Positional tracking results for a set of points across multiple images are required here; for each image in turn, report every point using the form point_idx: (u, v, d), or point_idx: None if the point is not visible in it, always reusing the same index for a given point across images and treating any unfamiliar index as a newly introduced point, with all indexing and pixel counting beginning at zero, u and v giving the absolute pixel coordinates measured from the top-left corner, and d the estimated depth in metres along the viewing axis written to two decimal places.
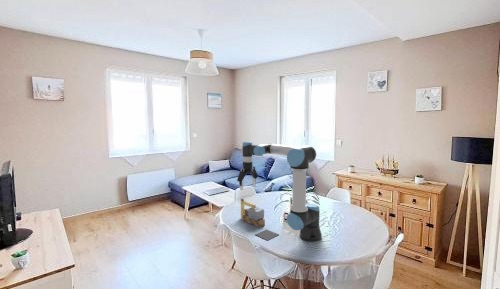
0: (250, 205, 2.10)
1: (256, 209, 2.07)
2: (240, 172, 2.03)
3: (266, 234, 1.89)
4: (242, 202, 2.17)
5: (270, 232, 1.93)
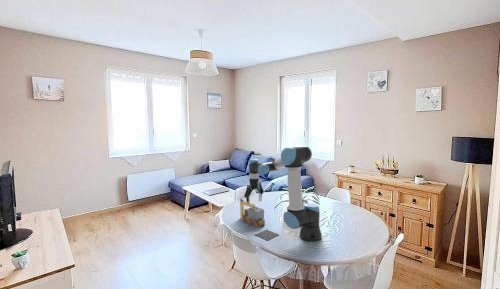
0: (249, 205, 2.10)
1: (256, 209, 2.07)
2: (247, 188, 2.12)
3: (266, 234, 1.89)
4: (241, 202, 2.16)
5: (270, 232, 1.93)
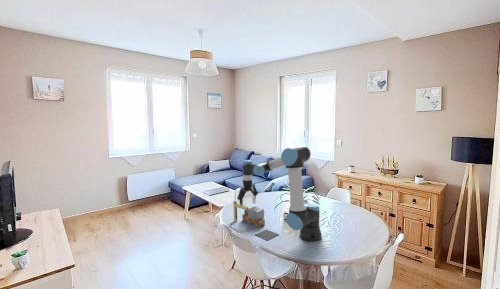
0: (243, 208, 2.05)
1: (256, 209, 2.07)
2: (240, 190, 2.07)
3: (266, 234, 1.89)
4: (235, 204, 2.11)
5: (270, 232, 1.93)
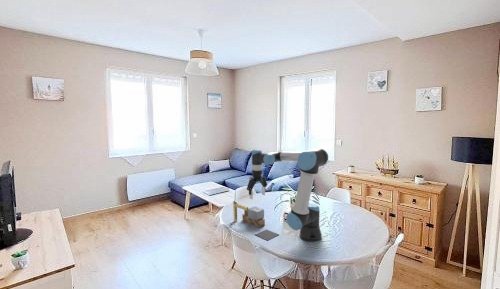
0: (243, 208, 2.05)
1: (256, 209, 2.07)
2: (250, 181, 1.98)
3: (266, 234, 1.89)
4: (235, 204, 2.11)
5: (270, 232, 1.93)
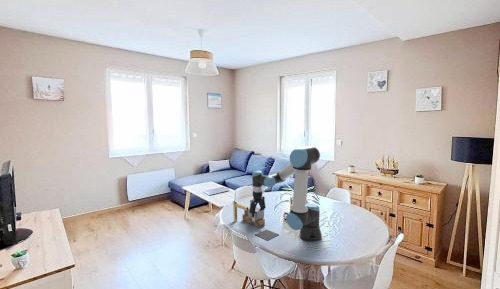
0: (243, 208, 2.05)
1: (256, 209, 2.06)
2: (251, 204, 2.01)
3: (266, 234, 1.89)
4: (235, 204, 2.11)
5: (270, 232, 1.93)
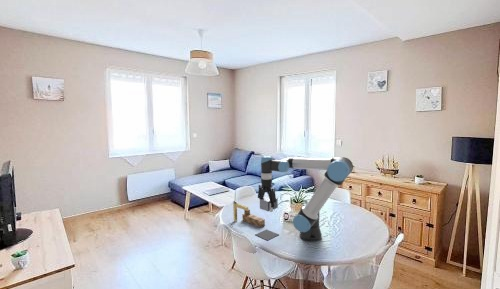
0: (243, 208, 2.05)
1: (267, 198, 1.87)
2: None
3: (266, 234, 1.89)
4: (235, 204, 2.11)
5: (270, 232, 1.93)
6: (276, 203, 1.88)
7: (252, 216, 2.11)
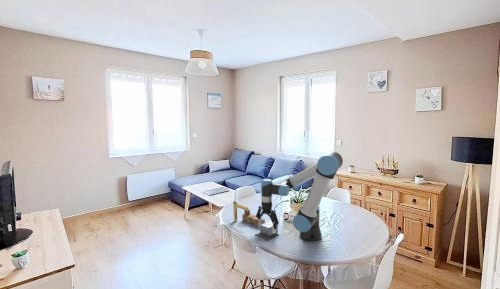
0: (243, 208, 2.05)
1: (268, 224, 1.89)
2: None
3: None
4: (235, 204, 2.11)
5: None
6: (276, 229, 1.90)
7: (252, 216, 2.11)
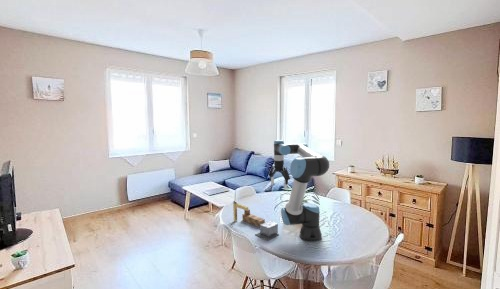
0: (243, 208, 2.05)
1: (268, 224, 1.89)
2: None
3: None
4: (235, 204, 2.11)
5: None
6: (276, 229, 1.90)
7: (252, 216, 2.11)
